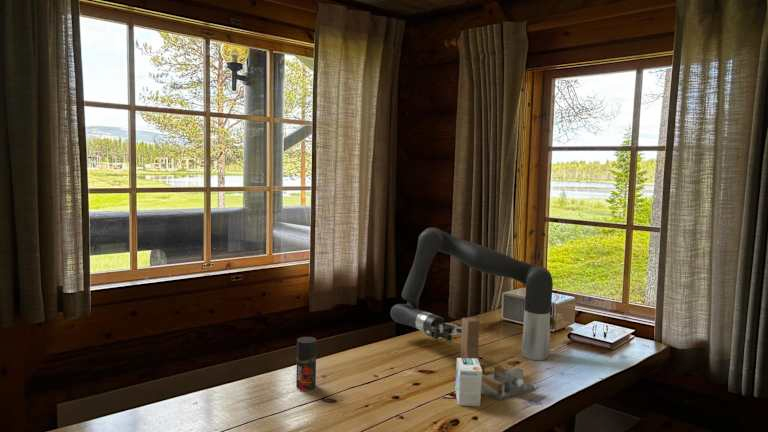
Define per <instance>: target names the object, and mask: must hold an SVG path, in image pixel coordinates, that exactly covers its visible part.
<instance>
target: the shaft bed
mask: <svg viewBox="0 0 768 432" xmlns="http://www.w3.org/2000/svg"><path fill="white" fill-rule="evenodd" d="M509 370H510V369H509ZM524 372H525V371H524V370H523V369H521V368H515V369H511V370H510V371H506V372H505V379H504V378H501V377H499V376H497V375H495V374H494V373H490V374H487V375H486V376H488V377H490V378H492V379H494V380H496V381H498V382H501V383H503V384H502V391H501V392H498V393H497V392H495V391H493V390H491V389H489V388H487V387H485V386H483V385H481V393H484V394H486V395H488V396H489V397H491V398H494V399H496V400H497V401H501V400H504V399H508V398H511V397H513V396H516V395H519V394H520V395H521V394H523V393H526V392H530V391H533V390H535V385H533V384H531V383H528V382H526V381H525V379H524V380H523V377H524Z"/></svg>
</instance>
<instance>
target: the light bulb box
mask: <svg viewBox="0 0 768 432" xmlns="http://www.w3.org/2000/svg"><path fill="white" fill-rule="evenodd" d="M481 383H482V369H481V366H480V363H479V361H478V359H476V358H460V357H456V369H455V389H454V392H455V397H456V402H457V405H458V406H465V407H466V406H468V407H480V406H481V400H482V399H481V398H482V397H481V396H482V392H481Z"/></svg>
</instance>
